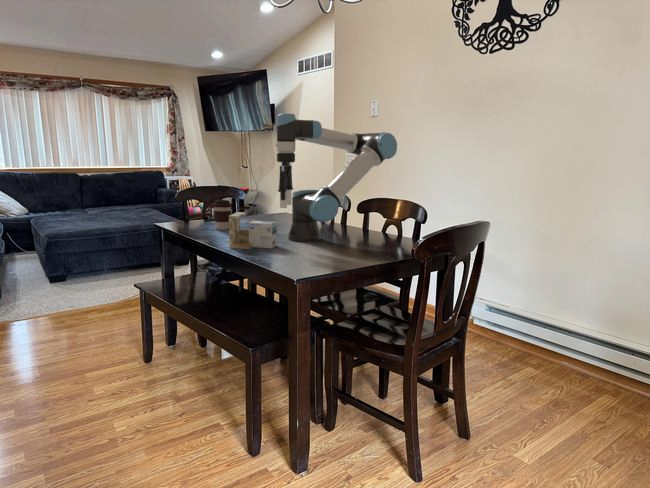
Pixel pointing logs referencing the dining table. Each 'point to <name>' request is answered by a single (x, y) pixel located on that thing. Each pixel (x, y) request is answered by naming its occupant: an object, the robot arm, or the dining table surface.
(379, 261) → the dining table surface
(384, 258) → the dining table surface
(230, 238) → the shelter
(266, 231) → the light bulb box
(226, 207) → the coffee cup
